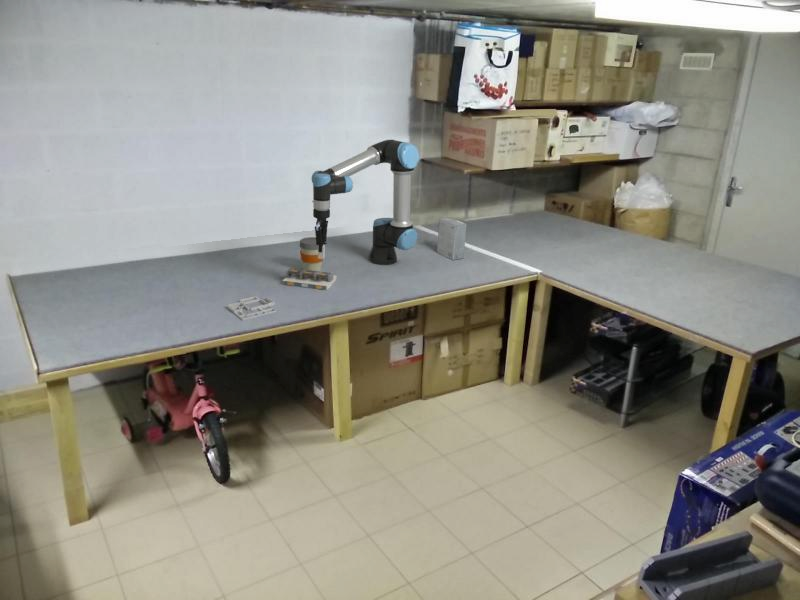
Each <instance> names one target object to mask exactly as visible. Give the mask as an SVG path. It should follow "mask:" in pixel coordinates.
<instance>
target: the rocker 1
mask: <svg viewBox="0 0 800 600" xmlns="http://www.w3.org/2000/svg"><path fill="white" fill-rule="evenodd" d="M303 270H304V269H301V268H294V269H293V268H292V270H290V271H289V272H288V273H289V274H299V273H301V272H302V271H303Z"/></svg>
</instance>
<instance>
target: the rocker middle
mask: <svg viewBox="0 0 800 600" xmlns="http://www.w3.org/2000/svg"><path fill="white" fill-rule="evenodd" d="M316 272H317V271H312V270H309V271H306V272H303V274H302V275H305V276H312V275H314V274H315V273H316Z"/></svg>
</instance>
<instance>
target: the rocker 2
mask: <svg viewBox="0 0 800 600" xmlns="http://www.w3.org/2000/svg"><path fill="white" fill-rule="evenodd" d="M331 273H332V272H327V271H322V272H320V273H319V274H317V277H322V278H326V277H328V276H329V275H330V274H331Z"/></svg>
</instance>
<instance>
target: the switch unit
mask: <svg viewBox="0 0 800 600" xmlns="http://www.w3.org/2000/svg"><path fill="white" fill-rule="evenodd" d="M290 270H293V267H290V268H288V269H287V270H286V273H285V274H286V277H285V278H284V279H282V285H284V286H293V287H302V288H308V289H309V288H310V289H318V290H324V291H327V290H329V289H330V287H331V286H332V285H333V284H334V283H335V282H336V280H337V275H336V274H334V272H330V273H331V274H330V275H329V276H328V277H326V278H322V277H317V274H319V273H321V272H320V271H321V270H320V271H317V272H316V273H315V274H314V275H312V276H305V275H302V274H303V272H306V270H304V269H303V271H302V272H301V273H299V274H289V273H288V272H289V271H290Z"/></svg>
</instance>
